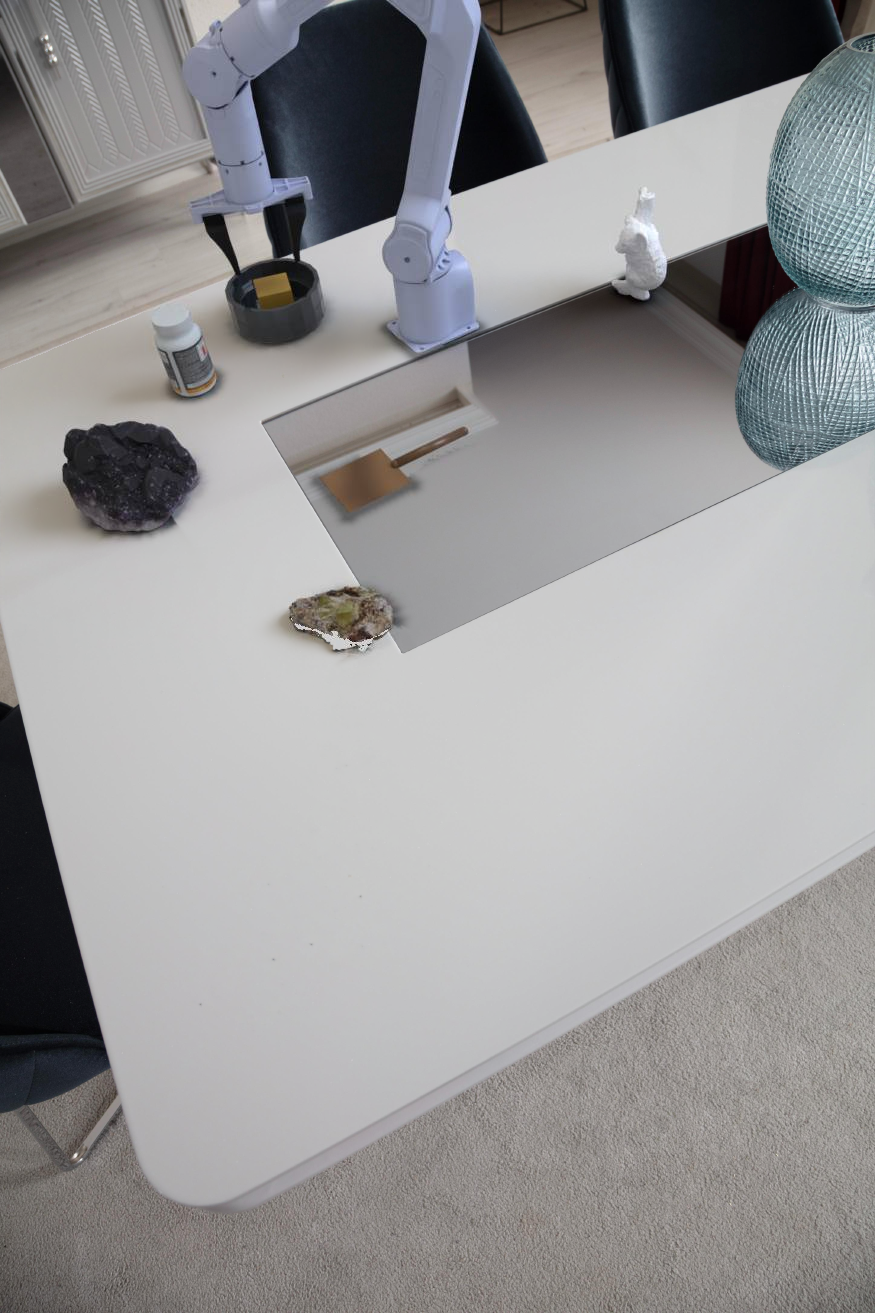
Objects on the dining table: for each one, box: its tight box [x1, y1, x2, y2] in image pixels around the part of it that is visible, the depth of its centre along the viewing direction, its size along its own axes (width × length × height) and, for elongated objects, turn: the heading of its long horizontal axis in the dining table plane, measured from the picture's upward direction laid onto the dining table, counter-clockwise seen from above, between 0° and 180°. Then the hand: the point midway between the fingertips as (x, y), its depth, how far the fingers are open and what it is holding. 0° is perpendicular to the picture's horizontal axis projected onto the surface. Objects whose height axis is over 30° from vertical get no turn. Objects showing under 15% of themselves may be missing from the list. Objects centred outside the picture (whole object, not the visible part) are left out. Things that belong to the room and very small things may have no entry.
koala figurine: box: [611, 186, 668, 301], centre depth 116 cm, size 8×7×12 cm
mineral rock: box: [288, 584, 395, 649], centre depth 90 cm, size 11×4×8 cm
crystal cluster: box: [61, 420, 200, 533], centre depth 102 cm, size 13×14×10 cm
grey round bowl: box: [224, 257, 326, 344], centre depth 122 cm, size 12×12×5 cm
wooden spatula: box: [318, 426, 469, 514], centre depth 104 cm, size 18×7×1 cm, turn 122°
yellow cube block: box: [253, 273, 294, 309], centre depth 121 cm, size 4×4×4 cm
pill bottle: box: [150, 302, 217, 398], centre depth 112 cm, size 6×6×10 cm
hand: (267, 264), depth 117 cm, fingers open, 7 cm apart
